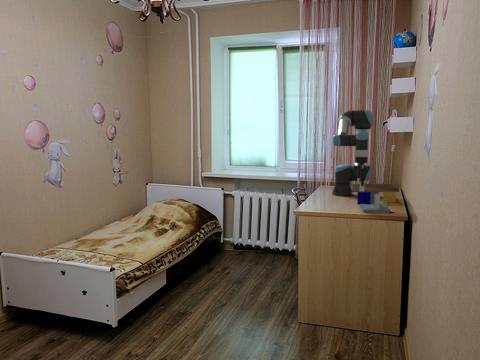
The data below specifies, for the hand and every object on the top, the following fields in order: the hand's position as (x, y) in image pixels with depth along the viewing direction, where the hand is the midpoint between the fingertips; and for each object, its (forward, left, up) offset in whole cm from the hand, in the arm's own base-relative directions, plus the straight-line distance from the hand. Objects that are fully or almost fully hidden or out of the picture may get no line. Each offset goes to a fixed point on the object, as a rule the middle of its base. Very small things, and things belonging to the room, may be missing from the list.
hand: (360, 189), depth 259 cm
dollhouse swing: (-19, +23, -13) cm, 33 cm away
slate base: (0, +9, -13) cm, 16 cm away
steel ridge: (0, +9, -11) cm, 14 cm away
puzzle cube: (-19, +6, -13) cm, 24 cm away
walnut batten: (0, +9, -1) cm, 9 cm away
